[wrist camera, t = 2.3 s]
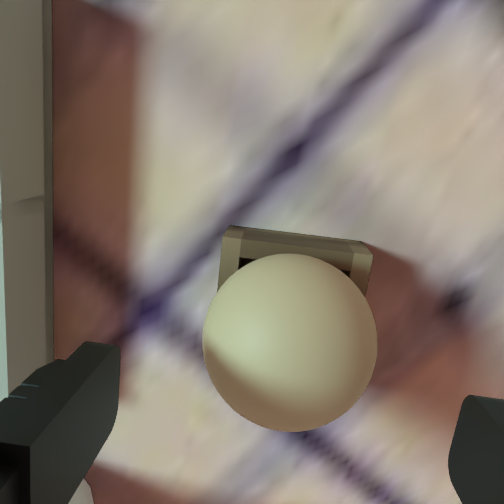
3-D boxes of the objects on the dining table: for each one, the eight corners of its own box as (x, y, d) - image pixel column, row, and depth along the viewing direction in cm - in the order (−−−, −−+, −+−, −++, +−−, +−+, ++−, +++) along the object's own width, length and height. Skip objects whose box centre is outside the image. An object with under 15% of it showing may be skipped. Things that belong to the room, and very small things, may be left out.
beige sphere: (222, 228, 14) (194, 271, 10) (372, 246, 14) (419, 300, 9) (210, 362, 16) (179, 460, 11) (346, 380, 15) (377, 488, 11)
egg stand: (229, 225, 16) (222, 236, 14) (361, 241, 15) (373, 255, 13) (217, 344, 17) (209, 370, 15) (339, 361, 17) (347, 389, 15)
